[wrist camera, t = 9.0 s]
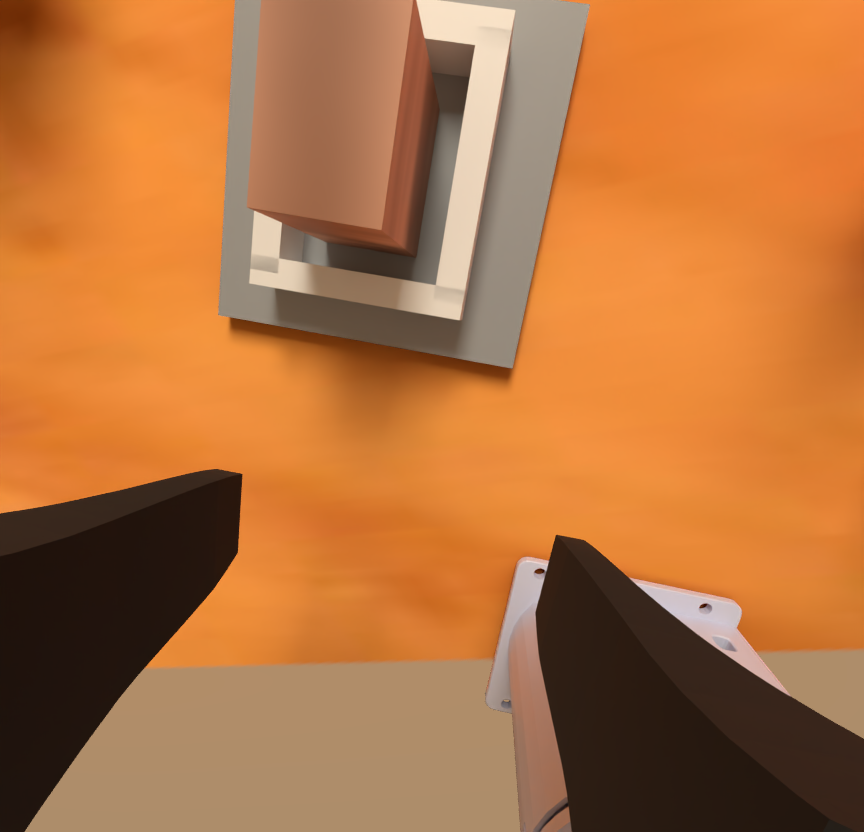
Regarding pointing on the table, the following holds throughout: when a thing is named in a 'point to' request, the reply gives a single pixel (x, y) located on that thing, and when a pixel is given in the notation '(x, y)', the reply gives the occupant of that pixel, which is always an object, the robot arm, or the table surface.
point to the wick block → (343, 121)
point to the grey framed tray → (445, 199)
